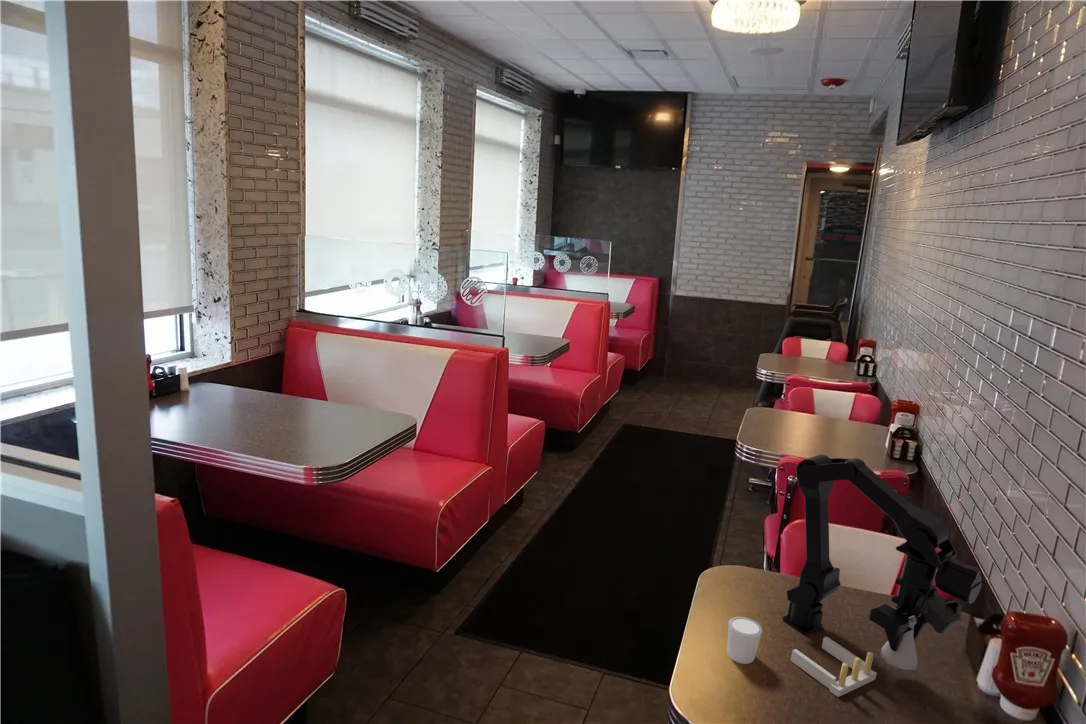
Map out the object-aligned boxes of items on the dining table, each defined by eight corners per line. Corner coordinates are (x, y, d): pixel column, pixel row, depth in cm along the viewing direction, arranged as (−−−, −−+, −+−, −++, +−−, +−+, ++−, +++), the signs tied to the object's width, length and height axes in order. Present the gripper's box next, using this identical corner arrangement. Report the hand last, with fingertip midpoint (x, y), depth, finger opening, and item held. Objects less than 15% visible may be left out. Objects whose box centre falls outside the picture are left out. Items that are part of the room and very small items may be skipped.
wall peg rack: (788, 661, 152) (793, 636, 150) (826, 645, 158) (830, 621, 157) (837, 697, 142) (843, 670, 141) (875, 679, 148) (881, 653, 147)
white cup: (759, 651, 154) (764, 622, 153) (754, 670, 148) (759, 640, 146) (727, 641, 157) (732, 612, 155) (720, 658, 151) (725, 629, 149)
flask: (922, 674, 145) (933, 630, 143) (884, 667, 146) (894, 623, 144) (912, 652, 152) (922, 610, 150) (875, 645, 153) (885, 603, 151)
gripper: (929, 611, 133) (911, 684, 137) (983, 588, 143) (965, 657, 147) (875, 581, 142) (860, 650, 146) (929, 561, 152) (914, 626, 156)
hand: (901, 646), depth 148 cm, fingers closed on flask, 5 cm apart
